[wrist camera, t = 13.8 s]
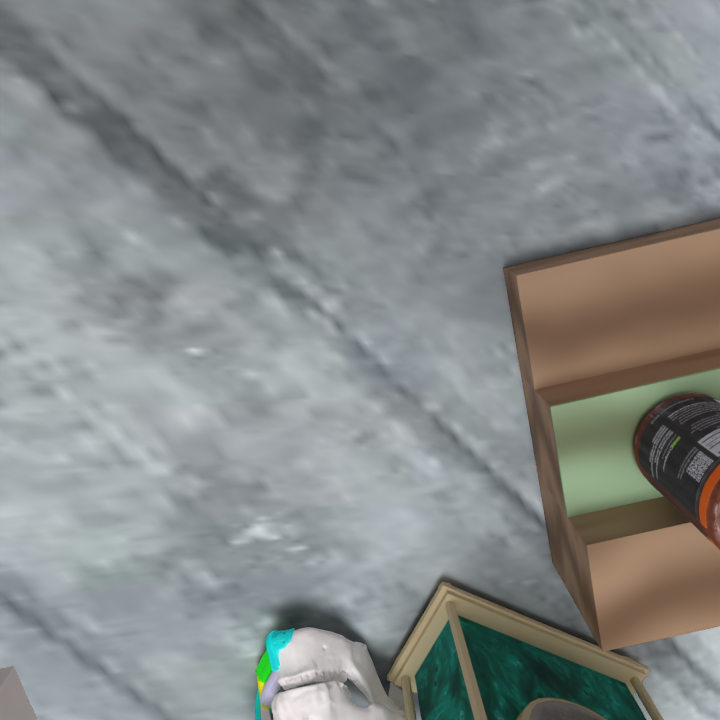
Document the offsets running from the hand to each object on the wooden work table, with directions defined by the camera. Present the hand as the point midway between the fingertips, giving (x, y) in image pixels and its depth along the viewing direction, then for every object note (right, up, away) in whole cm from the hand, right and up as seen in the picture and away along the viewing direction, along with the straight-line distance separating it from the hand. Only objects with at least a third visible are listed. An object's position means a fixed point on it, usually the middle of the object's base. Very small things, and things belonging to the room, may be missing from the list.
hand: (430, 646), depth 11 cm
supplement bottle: (+17, 0, +28) cm, 32 cm away
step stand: (+19, +2, +33) cm, 38 cm away
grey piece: (-4, -18, +38) cm, 42 cm away
